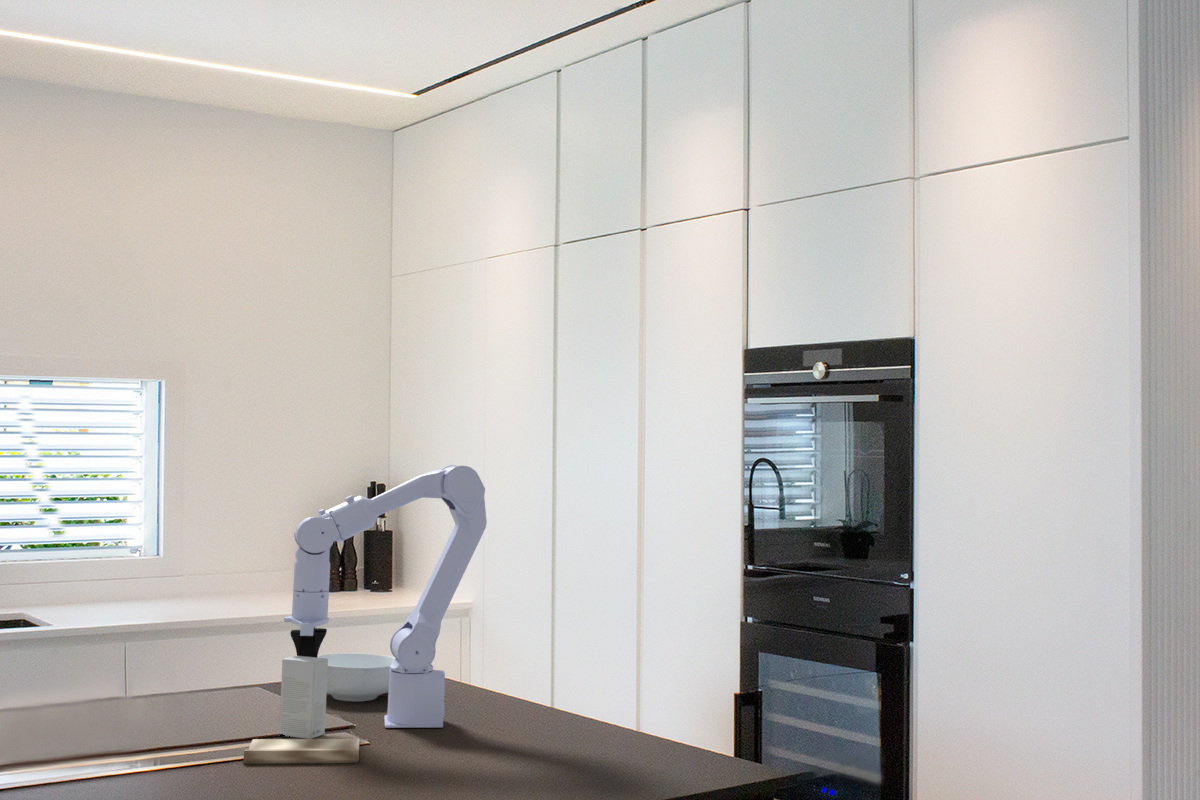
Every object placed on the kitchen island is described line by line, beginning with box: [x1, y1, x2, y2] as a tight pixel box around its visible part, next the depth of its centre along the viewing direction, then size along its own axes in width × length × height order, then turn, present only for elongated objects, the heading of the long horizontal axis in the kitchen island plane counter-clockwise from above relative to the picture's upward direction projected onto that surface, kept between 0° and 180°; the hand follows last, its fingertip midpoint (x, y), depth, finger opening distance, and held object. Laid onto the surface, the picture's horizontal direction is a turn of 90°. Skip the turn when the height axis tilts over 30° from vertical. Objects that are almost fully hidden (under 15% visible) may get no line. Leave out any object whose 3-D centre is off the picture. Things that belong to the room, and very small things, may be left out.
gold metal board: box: [242, 738, 360, 765], centre depth 172 cm, size 16×13×2 cm
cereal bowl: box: [317, 652, 396, 702], centre depth 213 cm, size 17×17×7 cm
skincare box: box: [278, 655, 328, 739], centre depth 183 cm, size 6×4×12 cm
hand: (306, 674), depth 188 cm, fingers closed
